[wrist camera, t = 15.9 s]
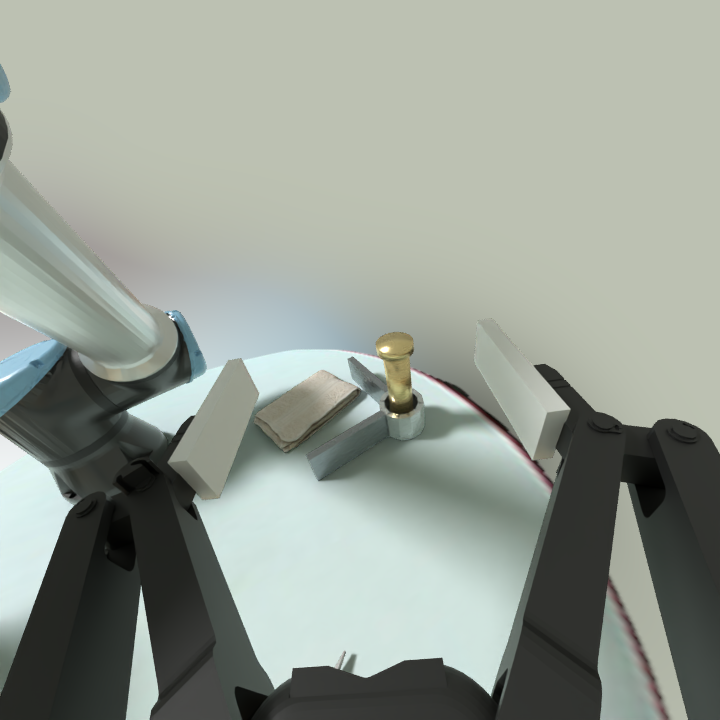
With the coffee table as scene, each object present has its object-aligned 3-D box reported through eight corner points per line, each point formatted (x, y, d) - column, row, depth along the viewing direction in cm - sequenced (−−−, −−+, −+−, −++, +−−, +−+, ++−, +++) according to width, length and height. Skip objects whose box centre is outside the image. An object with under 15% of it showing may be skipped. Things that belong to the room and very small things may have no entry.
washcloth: (253, 426, 54) (247, 415, 52) (324, 374, 63) (320, 363, 61) (288, 459, 46) (282, 447, 45) (363, 395, 56) (360, 383, 54)
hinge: (282, 414, 54) (273, 395, 51) (368, 369, 61) (364, 350, 58) (326, 496, 40) (317, 475, 37) (433, 425, 46) (432, 403, 43)
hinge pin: (383, 422, 49) (368, 342, 39) (406, 407, 50) (397, 328, 41) (401, 440, 45) (390, 357, 36) (425, 424, 47) (421, 341, 37)
